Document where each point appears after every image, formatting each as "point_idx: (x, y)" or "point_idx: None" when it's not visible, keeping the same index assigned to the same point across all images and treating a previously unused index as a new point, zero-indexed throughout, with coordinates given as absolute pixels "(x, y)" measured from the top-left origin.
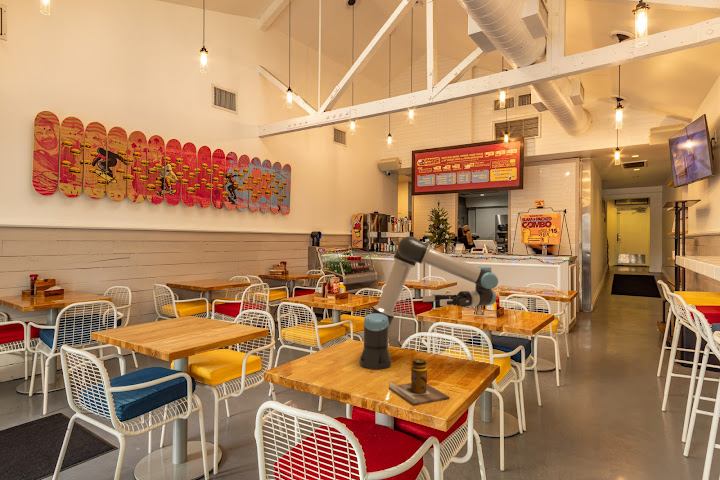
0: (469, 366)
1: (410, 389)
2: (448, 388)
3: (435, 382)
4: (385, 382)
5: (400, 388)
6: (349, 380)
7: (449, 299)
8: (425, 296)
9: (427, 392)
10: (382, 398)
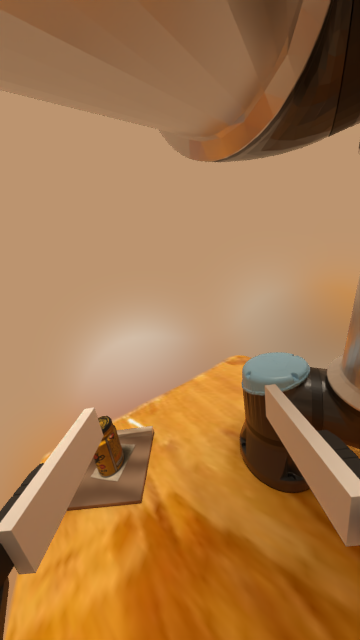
0: None
1: (125, 453)
2: (78, 559)
3: (125, 547)
4: (176, 436)
5: (127, 432)
6: (199, 400)
7: (34, 483)
8: (271, 397)
9: (97, 475)
10: (134, 416)
